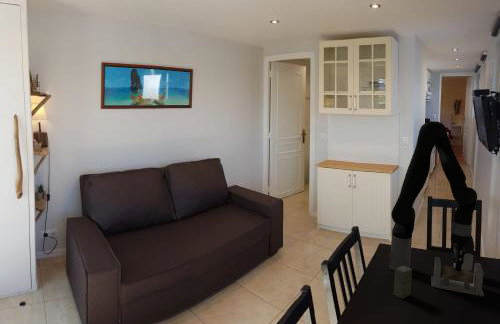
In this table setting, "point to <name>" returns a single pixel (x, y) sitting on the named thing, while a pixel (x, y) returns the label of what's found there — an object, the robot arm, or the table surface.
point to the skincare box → (402, 281)
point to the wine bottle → (468, 256)
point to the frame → (457, 285)
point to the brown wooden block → (457, 274)
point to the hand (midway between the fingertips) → (457, 266)
